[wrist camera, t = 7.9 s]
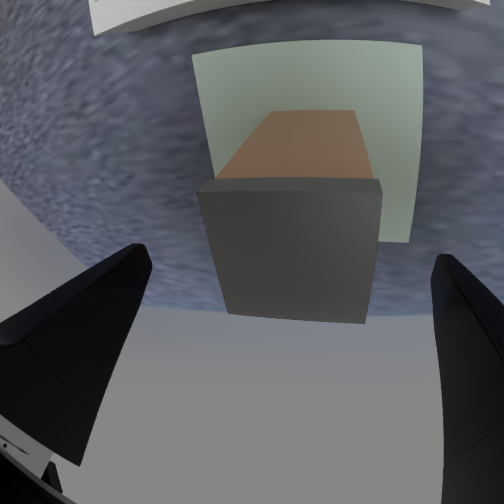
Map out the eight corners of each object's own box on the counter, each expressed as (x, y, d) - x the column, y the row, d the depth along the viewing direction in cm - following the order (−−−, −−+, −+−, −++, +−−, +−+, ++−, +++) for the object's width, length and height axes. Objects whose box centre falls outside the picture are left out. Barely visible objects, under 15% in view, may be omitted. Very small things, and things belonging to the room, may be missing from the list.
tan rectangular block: (356, 108, 14) (382, 193, 7) (356, 187, 17) (364, 323, 9) (268, 110, 15) (196, 192, 8) (277, 186, 18) (227, 313, 11)
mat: (418, 45, 11) (421, 45, 11) (407, 237, 19) (408, 242, 18) (195, 54, 15) (191, 55, 14) (229, 231, 22) (227, 236, 21)
